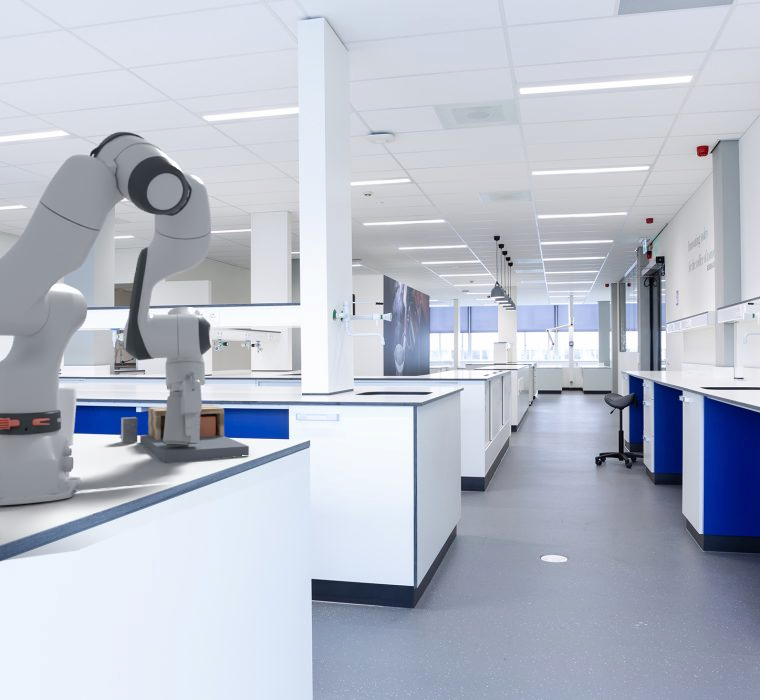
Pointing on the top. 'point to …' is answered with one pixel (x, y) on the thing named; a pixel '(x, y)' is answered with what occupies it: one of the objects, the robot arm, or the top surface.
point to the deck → (195, 449)
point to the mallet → (129, 430)
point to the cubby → (159, 413)
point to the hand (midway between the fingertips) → (187, 436)
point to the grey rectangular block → (196, 429)
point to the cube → (207, 425)
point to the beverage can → (175, 423)
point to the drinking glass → (67, 412)
